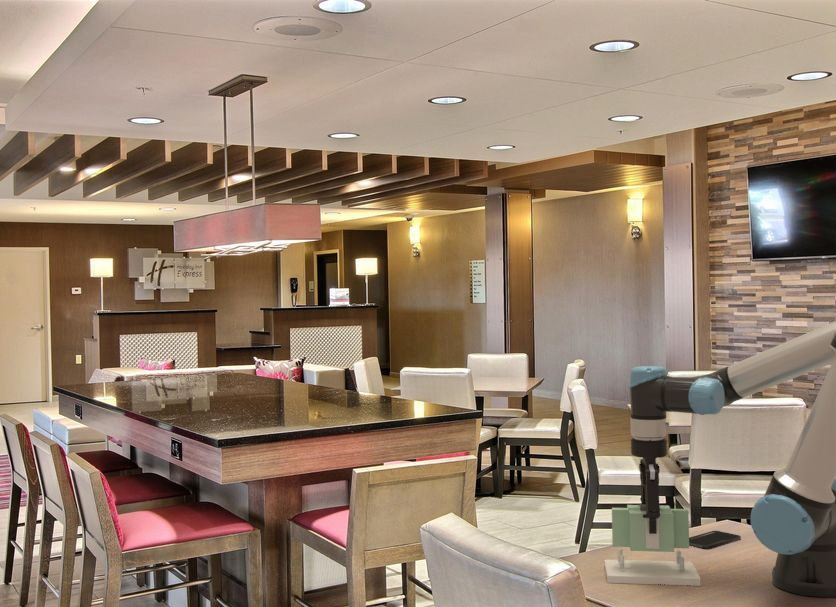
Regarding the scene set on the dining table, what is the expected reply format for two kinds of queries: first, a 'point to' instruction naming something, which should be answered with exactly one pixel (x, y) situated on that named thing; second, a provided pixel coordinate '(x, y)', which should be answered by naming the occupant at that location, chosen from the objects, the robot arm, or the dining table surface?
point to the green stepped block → (633, 528)
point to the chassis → (651, 571)
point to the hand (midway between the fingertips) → (650, 542)
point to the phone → (712, 539)
